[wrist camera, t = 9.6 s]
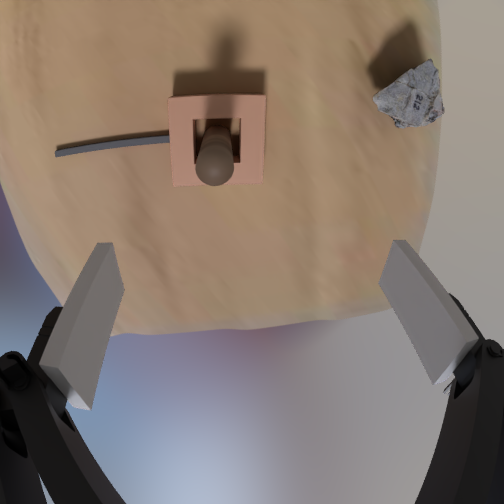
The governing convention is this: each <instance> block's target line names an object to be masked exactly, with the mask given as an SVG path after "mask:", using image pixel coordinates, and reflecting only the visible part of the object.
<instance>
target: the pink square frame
mask: <svg viewBox="0 0 504 504" xmlns="http://www.w3.org/2000/svg"><path fill="white" fill-rule="evenodd" d="M265 112H266V95H264V94H240V93H236V94H198V95H182V96H172V97H169V98H168V114H169V135H170V151H171V165H172V178H173V187H174V186H195V185H207V184H205V183H203V182H202V181H201V180H200V179H199V178H198V176H197V174H196V170H195V166H196V161H197V158H198V157H196V130H195V119H214V118H240V122H239V156H233V162H234V172H233V175H232V177H231V178H230V179H229V180H228V181H227V182H226V183H224V184H222V185H225V184H263V163H264V138H265Z"/></svg>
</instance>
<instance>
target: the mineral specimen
mask: <svg viewBox="0 0 504 504" xmlns="http://www.w3.org/2000/svg"><path fill="white" fill-rule="evenodd" d="M439 89H440V79H439V77H438V69H436V67H435V66H434V65H433V62H432V59H428V60H427V61H426V62H424V63H422V64H420V65H418V66H417V67H415V68H413V69H412V68H411V69H410V70H408V71H407V72H406V73H404V74H403V75H401V76H400V77H399V78H397V79H396V80H395V81H394V82H393V83H392V84H390V85H389V86H388V87H386V88H383V89H381V90H380V91H379V92H377V93H376V94H375V95H374V96H373V101H374V102H375V103H376V104H377V105H378V111H381V112H383V113H385V114H388V115H389V116H391V118H393V120H394V121H395V126H396V127H399V128H406V127H411V126H412V127H419V126H425V125H428V123H432V122H434V121H435V120H436V118H439V117H441V115H442V114H444V107H443V103H442V98H441V94H440V91H439Z"/></svg>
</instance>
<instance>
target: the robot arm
mask: <svg viewBox="0 0 504 504" xmlns="http://www.w3.org/2000/svg"><path fill="white" fill-rule="evenodd" d="M378 284H379V285H380V287H381V289H382V290H383V292H384V294H385V295H386V297H387V299H388V301H389V302H390V304H391V306H392V308H393V309H394V311H395V313H396V315H397V316H398V318H399V320H400V322H401V323H402V325H403V327H404V329H405V331H406V333H407V335H408V337H409V338H410V340H411V342H412V344H413V345H414V348H415V350H416V352H417V354H418V356H419V357H420V360H421V362H422V363H423V366H424V367H425V369H426V372H427V374H428V376H429V378H430V380H431V382H432V384H433V385H435V384H438V383H440V382H444V381H446V380H447V379H448V377H449V376H450V375H451V374H452V373H454V375H455V379H453V381H452V382H451V383H450V384H449V385H448V386H447V387H446V388H445V390H444V392H443V393H444V394H445V393H446V392H447V391H448V390H449V389H450V388H451V390H450V392H449V394H448V395H449V399H448V404H447V408H446V412H445V417H444V420H443V424H442V428H441V432H440V435H439V439H438V442H437V445H436V449H435V452H434V455H433V458H432V461H431V464H430V466H429V469H428V472H427V475H426V477H425V480H424V483H423V485H422V488H421V490H420V492H419V495H418V497H417V500H416V502H415V504H504V349H502V347H501V346H500V345H499V344H498V343H497V342H495V341H494V340H491V339H488V340H485V338H484V337H483V335H482V334H481V332H480V331H479V329H478V328H477V326H476V325H475V323H474V322H473V320H472V319H471V318H470V317H469V315H468V313H467V312H466V310H464V308H463V306H462V305H461V303H460V302H459V301H458V300H457V299H456V298H455V297H454V296H452V295H451V294H450V293H447V291H446V290H445V289H444V287H443V286H442V285H441V283H440V282H439V281H438V279H437V278H436V277H435V275H434V274H433V273H432V272H431V270H430V269H429V268H428V267H427V265H426V264H425V263H424V262H423V260H422V259H421V258H420V257H419V255H418V254H417V253H416V252H415V251H414V249H413V248H412V247H411V246H410V245H409V244H408V242H407V241H406V240H393V243H392V246H391V249H390V252H389V255H388V258H387V261H386V264H385V267H384V270H383V272H382V275H381V278H380V281H379V283H378ZM124 290H125V289H124V286H123V282H122V278H121V275H120V271H119V267H118V263H117V259H116V255H115V251H114V247H113V243H97V245H96V246H95V248H94V250H93V252H92V253H91V255H90V257H89V259H88V260H87V262H86V264H85V266H84V268H83V270H82V271H81V273H80V275H79V277H78V279H77V281H76V283H75V285H74V287H73V289H72V291H71V293H70V295H69V297H68V299H67V301H66V303H65V305H64V307H55V308H54V309H53V310H52V311H51V312H50V313H49V314H48V315H47V316H46V319H45V321H44V323H43V325H42V328H41V329H40V331H39V333H38V334H39V335H38V336H37V338H36V340H35V342H34V345H33V347H32V350H31V352H30V354H29V356H28V359H27V361H26V360H25V358H24V357H23V356H22V354H20V353H19V352H17V351H10V352H7V353H5V354H4V355H2V356H1V357H0V504H47V502H46V498H45V495H44V492H43V489H42V485H41V481H40V478H39V475H40V477H41V479H42V481H43V483H44V485H45V487H46V489H47V491H48V493H49V495H50V496H51V498H52V500H53V502H54V503H55V504H126V503H125V502H124V500H123V499H122V498H121V496H120V495H119V494H118V492H117V491H116V490H115V488H114V487H113V486H112V484H111V483H110V481H109V480H108V478H107V477H106V476H105V474H104V473H103V471H102V470H101V468H100V466H99V465H98V463H97V462H96V460H95V459H94V457H93V455H92V454H91V452H90V451H89V449H88V447H87V445H86V444H85V442H84V440H83V439H82V437H81V435H80V433H79V431H78V430H77V428H76V426H75V424H74V422H73V420H72V418H71V416H70V414H69V412H68V411H67V409H66V408H65V406H66V402H67V400H68V401H69V402H70V404H71V405H72V406H73V407H75V408H80V409H86V410H91V409H92V404H93V400H94V396H95V391H96V387H97V383H98V379H99V374H100V371H101V367H102V363H103V359H104V355H105V351H106V348H107V344H108V341H109V338H110V334H111V331H112V328H113V324H114V321H115V318H116V315H117V312H118V308H119V305H120V302H121V299H122V296H123V293H124ZM38 473H39V474H38Z"/></svg>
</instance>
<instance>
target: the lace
mask: <svg viewBox="0 0 504 504" xmlns="http://www.w3.org/2000/svg"><path fill="white" fill-rule="evenodd" d="M169 142H170V135H161V136H150V137H140V138H131V139H123V140H115V141H108V142H101V143H94V144H88V145H82V146H76V147H71V148H65V149H60V150H56V151H55V156H56V157H60V156H66V155H71V154H77V153H83V152H89V151H96V150H103V149H110V148H118V147H126V146H135V145H145V144H156V143H169Z"/></svg>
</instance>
